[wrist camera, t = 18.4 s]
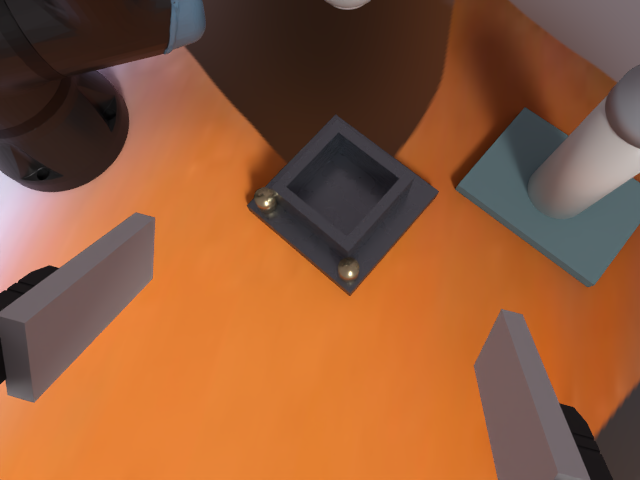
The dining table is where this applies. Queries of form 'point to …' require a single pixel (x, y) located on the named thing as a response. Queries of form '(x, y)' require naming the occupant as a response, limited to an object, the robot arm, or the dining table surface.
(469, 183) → the mat
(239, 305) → the dining table surface
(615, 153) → the cylinder
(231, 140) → the dining table surface
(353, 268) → the housing
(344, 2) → the lidded jar
